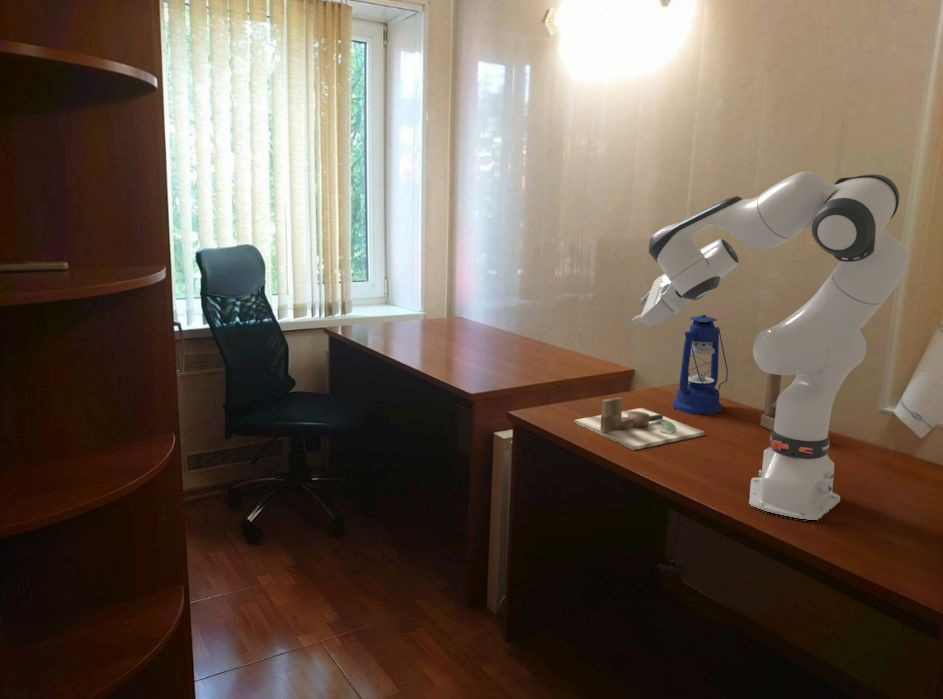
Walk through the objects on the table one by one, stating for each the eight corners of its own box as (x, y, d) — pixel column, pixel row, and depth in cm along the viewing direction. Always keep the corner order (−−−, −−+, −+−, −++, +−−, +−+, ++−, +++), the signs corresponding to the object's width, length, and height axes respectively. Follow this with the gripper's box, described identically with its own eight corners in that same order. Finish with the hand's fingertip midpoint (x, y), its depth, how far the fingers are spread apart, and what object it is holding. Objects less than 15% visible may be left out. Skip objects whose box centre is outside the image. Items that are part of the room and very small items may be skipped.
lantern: (695, 397, 238) (702, 309, 231) (734, 409, 225) (742, 316, 219) (660, 406, 229) (665, 314, 222) (698, 418, 216) (705, 321, 210)
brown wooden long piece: (609, 434, 197) (610, 403, 195) (595, 428, 202) (596, 398, 200) (668, 422, 207) (670, 393, 206) (654, 417, 213) (656, 388, 211)
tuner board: (633, 450, 189) (633, 445, 189) (574, 423, 211) (574, 418, 211) (704, 435, 201) (704, 430, 201) (641, 410, 223) (641, 406, 223)
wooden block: (784, 437, 199) (791, 375, 195) (759, 425, 209) (765, 366, 206) (795, 436, 200) (802, 374, 196) (770, 424, 210) (775, 365, 207)
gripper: (677, 257, 186) (637, 284, 195) (663, 296, 171) (621, 324, 180) (693, 274, 187) (653, 300, 196) (680, 314, 172) (638, 341, 181)
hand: (637, 312), depth 188 cm, fingers open, 8 cm apart
